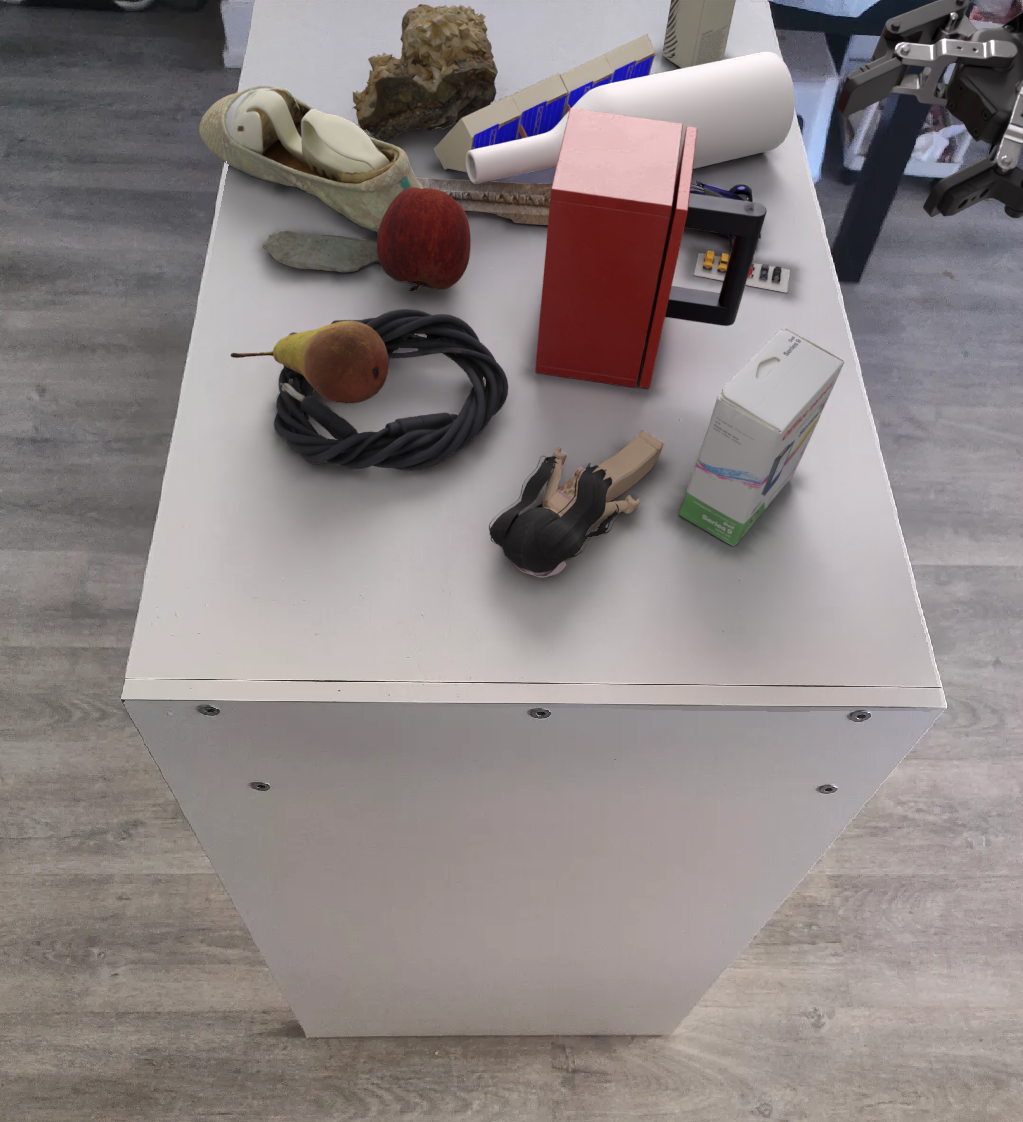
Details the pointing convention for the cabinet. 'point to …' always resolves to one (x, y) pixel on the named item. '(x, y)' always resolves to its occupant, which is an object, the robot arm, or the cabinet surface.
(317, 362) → the fruit
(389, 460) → the cable
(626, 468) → the toy figure
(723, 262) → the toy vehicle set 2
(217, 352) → the cabinet surface
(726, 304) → the door
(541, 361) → the cabinet
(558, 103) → the building
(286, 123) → the ballet flat
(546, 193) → the fossil
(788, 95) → the bottle
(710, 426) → the ink box
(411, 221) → the apple
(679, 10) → the box
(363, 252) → the stone
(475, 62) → the mineral specimen
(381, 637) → the cabinet surface
